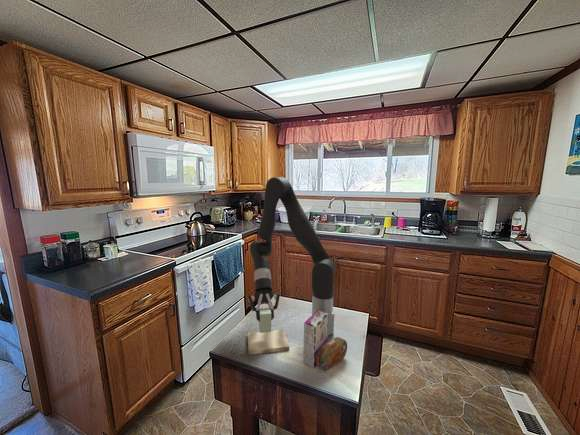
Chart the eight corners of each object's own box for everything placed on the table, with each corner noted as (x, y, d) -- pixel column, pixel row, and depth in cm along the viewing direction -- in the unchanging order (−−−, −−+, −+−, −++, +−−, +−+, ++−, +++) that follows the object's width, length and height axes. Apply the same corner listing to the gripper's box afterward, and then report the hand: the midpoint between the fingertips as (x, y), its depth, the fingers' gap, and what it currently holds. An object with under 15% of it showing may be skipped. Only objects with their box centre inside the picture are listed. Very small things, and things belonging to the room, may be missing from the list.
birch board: (283, 332, 110) (283, 329, 110) (289, 349, 98) (289, 346, 98) (247, 336, 107) (247, 333, 106) (248, 354, 95) (248, 351, 95)
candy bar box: (316, 347, 100) (317, 309, 98) (327, 352, 98) (329, 313, 96) (302, 363, 91) (303, 321, 89) (314, 369, 88) (316, 326, 86)
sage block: (269, 325, 104) (270, 307, 103) (271, 331, 100) (271, 313, 99) (259, 326, 103) (259, 308, 102) (259, 333, 99) (260, 314, 98)
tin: (320, 375, 85) (321, 353, 84) (314, 370, 88) (315, 348, 87) (347, 357, 95) (348, 336, 94) (340, 352, 97) (341, 332, 96)
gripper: (247, 277, 105) (247, 319, 95) (279, 276, 108) (284, 316, 98) (246, 284, 111) (247, 324, 101) (277, 283, 114) (281, 321, 104)
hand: (265, 320), depth 100 cm, fingers closed on sage block, 4 cm apart
